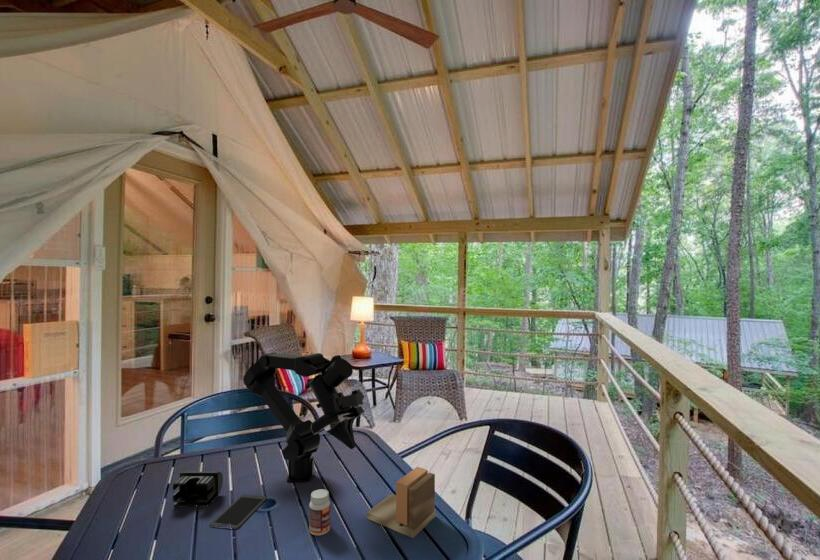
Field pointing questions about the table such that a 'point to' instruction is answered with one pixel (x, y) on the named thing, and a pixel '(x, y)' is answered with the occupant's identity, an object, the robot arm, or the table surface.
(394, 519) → the pipe board
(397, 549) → the table surface
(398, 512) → the wooden board
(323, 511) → the pill bottle
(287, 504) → the table surface
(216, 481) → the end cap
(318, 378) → the robot arm
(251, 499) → the cell phone
